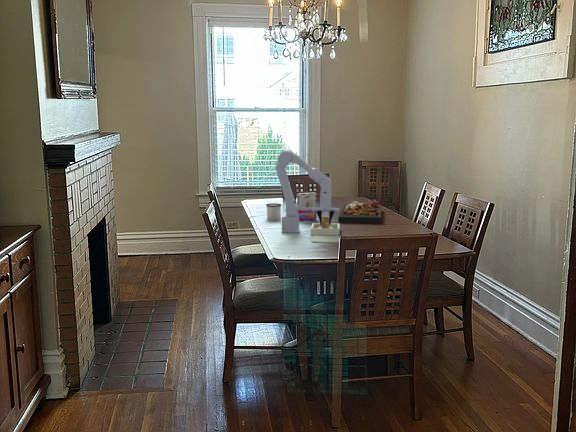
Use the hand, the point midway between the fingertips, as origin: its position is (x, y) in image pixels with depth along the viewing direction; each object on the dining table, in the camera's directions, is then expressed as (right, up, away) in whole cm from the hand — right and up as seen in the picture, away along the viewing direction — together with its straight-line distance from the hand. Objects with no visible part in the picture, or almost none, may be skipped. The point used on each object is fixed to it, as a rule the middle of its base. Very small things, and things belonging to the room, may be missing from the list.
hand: (325, 224), depth 310 cm
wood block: (0, -1, 0) cm, 1 cm away
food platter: (+25, +3, +47) cm, 53 cm away
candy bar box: (-9, +2, +37) cm, 39 cm away
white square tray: (0, -4, +1) cm, 4 cm away
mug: (-29, +3, +42) cm, 51 cm away
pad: (-1, -7, -17) cm, 18 cm away
